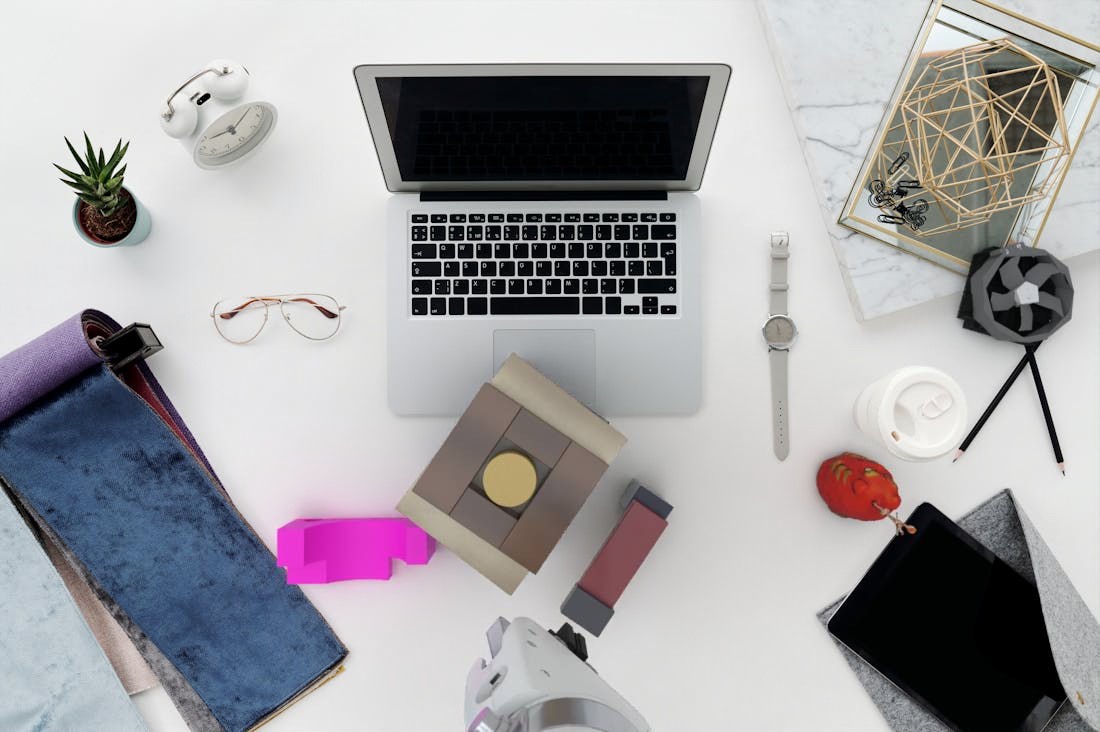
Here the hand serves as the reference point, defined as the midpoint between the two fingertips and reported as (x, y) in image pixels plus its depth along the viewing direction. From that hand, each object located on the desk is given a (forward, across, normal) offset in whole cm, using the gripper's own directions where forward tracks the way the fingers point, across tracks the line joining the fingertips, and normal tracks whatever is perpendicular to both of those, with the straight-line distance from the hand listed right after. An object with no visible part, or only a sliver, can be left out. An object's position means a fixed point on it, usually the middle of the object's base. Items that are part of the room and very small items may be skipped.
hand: (559, 646), depth 51 cm
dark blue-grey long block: (+34, +5, +5) cm, 35 cm away
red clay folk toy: (+34, +20, +26) cm, 48 cm away
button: (+9, -9, +5) cm, 14 cm away
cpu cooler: (+34, +20, +53) cm, 66 cm away
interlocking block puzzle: (+34, -9, +5) cm, 36 cm away
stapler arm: (+26, +5, +3) cm, 27 cm away
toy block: (+34, -15, -14) cm, 40 cm away
